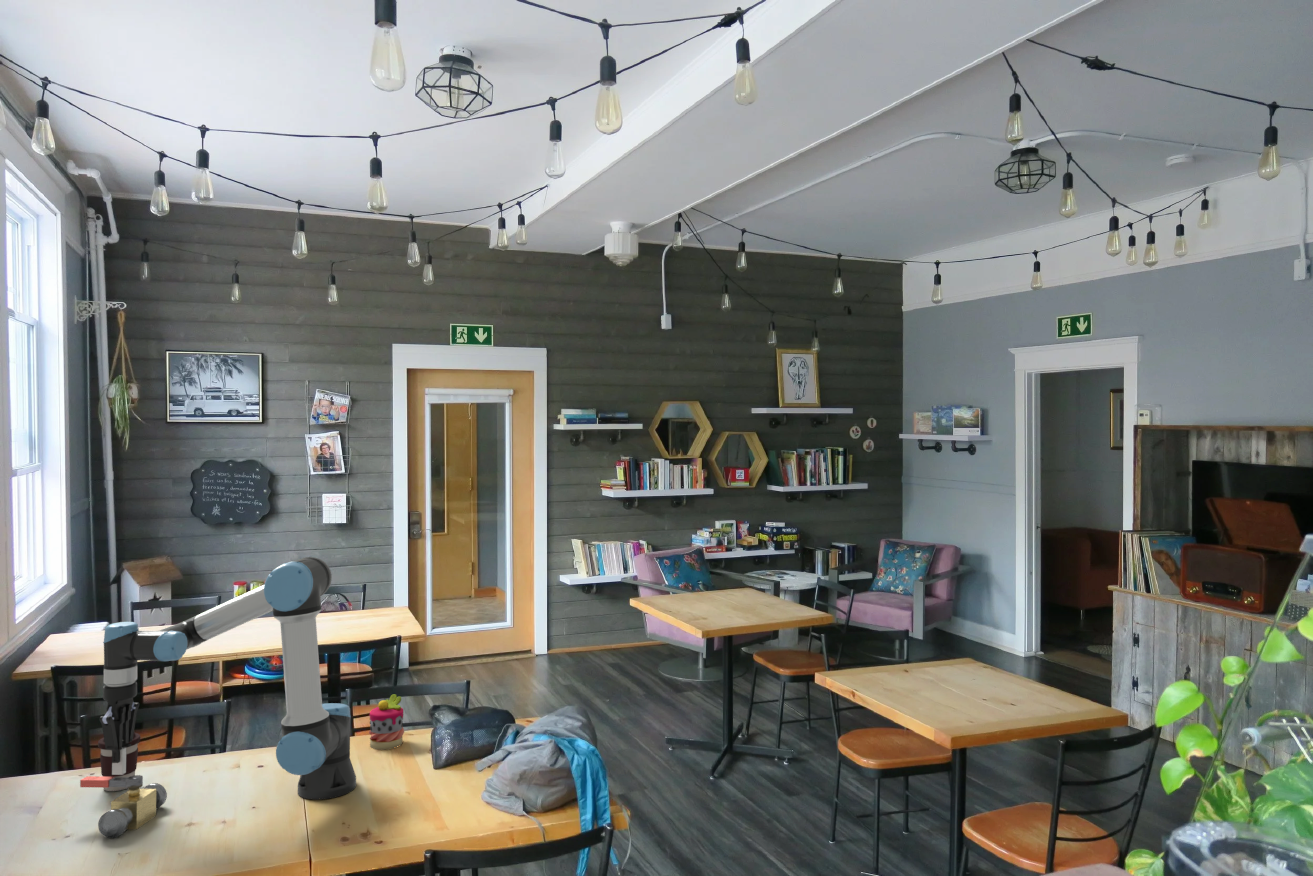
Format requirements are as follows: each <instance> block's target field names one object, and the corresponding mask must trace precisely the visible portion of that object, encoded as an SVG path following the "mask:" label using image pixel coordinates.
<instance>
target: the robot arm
mask: <svg viewBox="0 0 1313 876" xmlns="http://www.w3.org/2000/svg"><path fill="white" fill-rule="evenodd" d="M332 576H333V574H332V570H331V568H330V566H329V565H328V564H327V562H325V561H324V560H322V559H320V558H319V557H314V556H313V557H312V556H305V557H301V558H299V559H296V560H293V561H289V562H284V563H282V564H281V565H278V566H277V567H276V568H274V569H273V570H272V571H271V572H270V573H269V574H268V575H267V577H266V579H265V581H264V584H263V585H260V586H258V587H255V588H253V589H252V590H249V591H247V592H244V593H243V594H241V595H238V596H236V597H234V598H232V599H229V600H227V601H224V602H223V603H221V604H219V605H216V606H214V607H212V608H210V609H207V610H205V611H204V612H201V613H200V614H199V613H198V614H197V615H195V616H193V617H190V618H188V619H186V620H184V621H181V622H179V623H177V624H176V623H175V624H174V625H171V626H168V627H165V628H162V629H159V630H139V625H138V623H137V622H135V621H120V622H114V623H110V624H108V625H107V626H105V628H104V635H103V637H104V638H103V641H102V643H103V683H102V684H104V685H103V686H102V687H103V688H102V699H103V700H104V701H106V702H107V706H106V708H105V711H106V713H105V714H104V715H101V716H100V717H99V722H100V724H101V728H102V734H103V738H104V741H105V748H106V750H112V775H123V774H124V773H126V748H127V747H130V746H131V744H129V742H132V740H133V734H134V732H135V727H136V722H137V721H136V720H137V714H138V710H139V707H140V703H139V702H134V699H135V697H137V695H138V682H137V680H138V661H144V662H145V661H151V662H152V661H153V662H156V661H157V662H169V661H178V660H180V659H182V658H183V656H184V655H185V653H186V651H187V650H189V649H191V648H195V647H197V646H199V645H201V644H202V643H205V642H206V641H209V640H211V639H213V638H216V637H218V636H220V635H222V634H224V633H226V632H228V631H231V630H233V629H236V628H237V627H239V626H242V625H244V624H246V623H248V622H251V621H253V620H255V619H257V618H260V617H262V616H264V615H267V614H269V613H270V612H272V617H273V618H274V619H276V620H277V621H278V622H279V623H280V634H281V635H280V636H281V649H282V662H283V663H282V664H283V678H284V691H285V704H286V714H285V716H284V717H283V718H282V719H281V721H280V724H281V738H280V740H279V741H278V743H277V745H276V748H275V757H276V761H277V762H278V765H279V766H280V767H281V768H282V769H283V770H285V771H286V773H288V774H290V775H291V774H292V775H295V776H300V777H299V779H298V782H297V795H298V796H299V797H300V798H303V799H306V800H307V799H308V800H327V799H334V798H338V797H342V796H344V795H347V794H348V793H350V792H352V791H353V790H354V789H355V788H356V787H357V775H356V772H355V770H354V767H353V763H352V760H351V757H350V756H351V753H350V752H351V718H352V716H351V708H350V706H349V705H348V704H345V703H339V702H338V703H336V702H335V703H333V702H331V703H323V698H322V685H321V673H320V671H321V670H320V659H319V658H320V657H319V645H318V631H317V629H318V628H317V616H318V615H319V614H320V613H321V612H322V602H321V601H322V600H321V597H323V595H324V594H326V593H327V592H328V590H329V588H330V587H331V583H332V581H333V580H332V579H333V577H332Z"/></svg>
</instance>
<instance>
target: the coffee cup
mask: <svg viewBox="0 0 1313 876" xmlns="http://www.w3.org/2000/svg"><path fill="white" fill-rule="evenodd" d="M139 743H141V734H139V733H137V732H135V731H134V734H133V740H132V742H129V744H131V746H130V747H127V748H126V773H124V774H123V775H112V750H106V748H105V741H104V737H101V738H100V739H99V740H98V741H97V747H98V748H99V750H100V754H99V755H100V756H99V758H100V770H101V772H100V773H101V777H130V776H135V775H136V770H137V766H138V757H139V756H138V755H139V754H138V753H139V747H138V745H139ZM103 790H104V791H105V792H119V791H120V792H121V791H124V790H127V789H126V787H108V788H103Z"/></svg>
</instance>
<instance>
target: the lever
mask: <svg viewBox="0 0 1313 876" xmlns="http://www.w3.org/2000/svg"><path fill="white" fill-rule="evenodd" d="M143 778H144V777H143V775H142V774H139V775H138V774H137V775H136V774H135V776H130V777H103V776H101V775H100V776H85V777H83V778H80V780H79V783H80V784H79V787H80V788H103V789H104V788H108V787H126V789H125V790H127V791H129V790H132V789H137V788H140V789H141V788H142V787H143V785H144V782H143V781H144V779H143Z"/></svg>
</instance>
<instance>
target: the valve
mask: <svg viewBox="0 0 1313 876" xmlns="http://www.w3.org/2000/svg"><path fill="white" fill-rule="evenodd" d="M167 798H168V793H167V790H166V788H165V786H164V785H162V784H160V783H157V782H152V783H149V784H147V785H146V786H145V787H143V788H141V787H140V788H137V789H132V790H127V791H125V792H124V793H122V794H121V795H119V796H118V797H116V798H115V799H113V800H112V801H110V802H111V803H110V809H109V810H107V811H106V812H104V813H103V814H101V816H100V817H99V820H98V825H97V826H98V831H99V833H100V834H101V835H102V836H103V837H104V838H108V839H115V838H117V837H119V836H121V835H123V834H124V833H125V832H126V831H127V830H138V829H139V828H141V827H142V826H144V825H145V824H146V823H148V822H149V821H151V820H152V819H153V818H155V817H156V816H157V810H158V809H159V808H160V807H162V806H163V805H164V804H165V803H166V801H167Z"/></svg>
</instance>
